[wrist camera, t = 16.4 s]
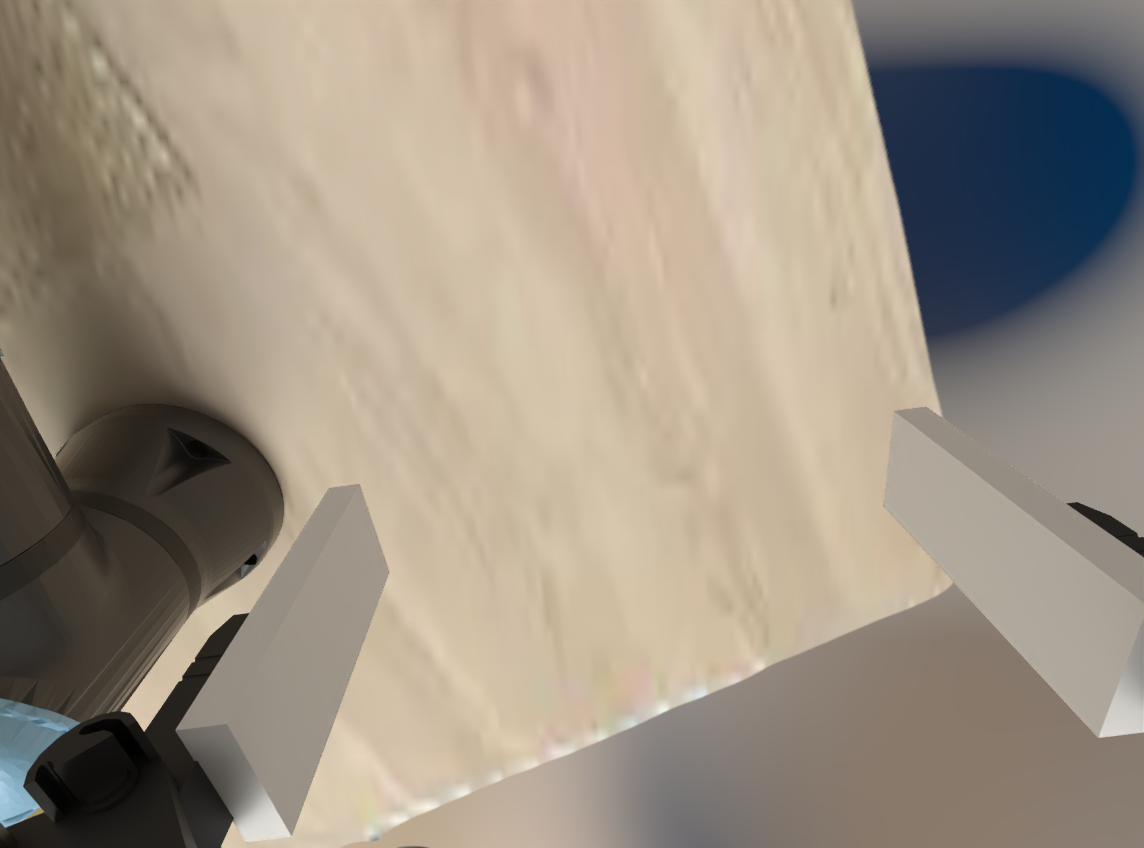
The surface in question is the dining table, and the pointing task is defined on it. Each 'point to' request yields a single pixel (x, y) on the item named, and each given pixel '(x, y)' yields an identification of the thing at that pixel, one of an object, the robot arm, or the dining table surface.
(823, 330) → the dining table surface
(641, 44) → the dining table surface
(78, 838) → the robot arm
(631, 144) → the dining table surface
